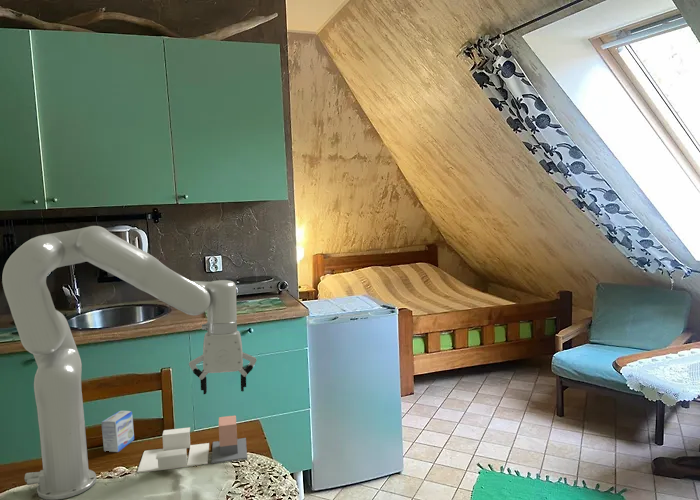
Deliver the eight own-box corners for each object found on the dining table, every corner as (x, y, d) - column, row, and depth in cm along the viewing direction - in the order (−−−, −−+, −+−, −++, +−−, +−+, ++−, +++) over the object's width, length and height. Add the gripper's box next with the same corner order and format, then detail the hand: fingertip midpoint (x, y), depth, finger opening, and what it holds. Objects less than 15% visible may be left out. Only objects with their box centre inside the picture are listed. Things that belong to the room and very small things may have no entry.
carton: (135, 477, 135) (134, 460, 135) (145, 448, 151) (144, 432, 151) (207, 468, 139) (206, 451, 138) (209, 440, 155) (208, 425, 154)
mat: (211, 463, 141) (211, 462, 141) (212, 443, 153) (212, 441, 153) (247, 459, 143) (247, 457, 143) (245, 439, 155) (245, 437, 154)
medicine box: (117, 453, 149) (115, 422, 148) (103, 451, 150) (100, 421, 149) (134, 440, 157) (132, 410, 156) (120, 439, 157) (118, 409, 157)
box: (220, 455, 144) (218, 426, 144) (220, 445, 150) (218, 417, 149) (237, 453, 145) (236, 424, 144) (237, 443, 151) (235, 415, 150)
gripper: (186, 332, 139) (188, 398, 140) (256, 329, 143) (257, 393, 144) (189, 326, 146) (190, 389, 148) (255, 323, 150) (256, 384, 151)
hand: (223, 391), depth 146 cm, fingers open, 9 cm apart
